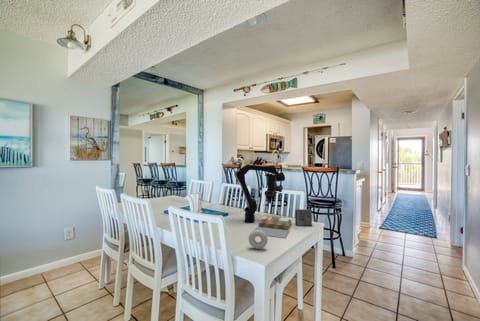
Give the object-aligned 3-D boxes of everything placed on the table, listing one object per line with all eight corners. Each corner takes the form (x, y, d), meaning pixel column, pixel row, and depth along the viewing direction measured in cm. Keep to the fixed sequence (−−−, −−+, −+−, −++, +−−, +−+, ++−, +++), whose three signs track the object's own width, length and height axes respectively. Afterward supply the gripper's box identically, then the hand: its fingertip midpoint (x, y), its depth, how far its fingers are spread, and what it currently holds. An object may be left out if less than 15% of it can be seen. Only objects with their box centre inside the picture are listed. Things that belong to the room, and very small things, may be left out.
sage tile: (278, 223, 156) (278, 220, 155) (281, 219, 163) (281, 217, 163) (287, 224, 153) (287, 221, 153) (289, 220, 161) (289, 218, 161)
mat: (250, 233, 143) (250, 233, 143) (256, 227, 156) (256, 226, 156) (285, 238, 135) (285, 237, 135) (289, 231, 148) (289, 230, 148)
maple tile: (261, 221, 160) (261, 218, 160) (264, 218, 167) (264, 215, 167) (270, 222, 158) (270, 219, 158) (272, 219, 165) (272, 216, 165)
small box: (310, 223, 164) (310, 209, 164) (312, 226, 158) (312, 211, 157) (295, 223, 165) (295, 208, 165) (296, 226, 159) (296, 211, 158)
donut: (248, 249, 119) (248, 230, 119) (249, 246, 123) (249, 228, 123) (267, 250, 118) (267, 231, 118) (267, 248, 121) (267, 229, 121)
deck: (258, 227, 157) (258, 222, 156) (264, 221, 170) (264, 217, 170) (288, 230, 149) (288, 225, 149) (291, 224, 162) (291, 220, 162)
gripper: (279, 183, 162) (279, 205, 163) (284, 180, 179) (284, 200, 180) (264, 183, 166) (264, 204, 167) (270, 180, 183) (270, 199, 184)
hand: (271, 202), depth 174 cm, fingers open, 9 cm apart
